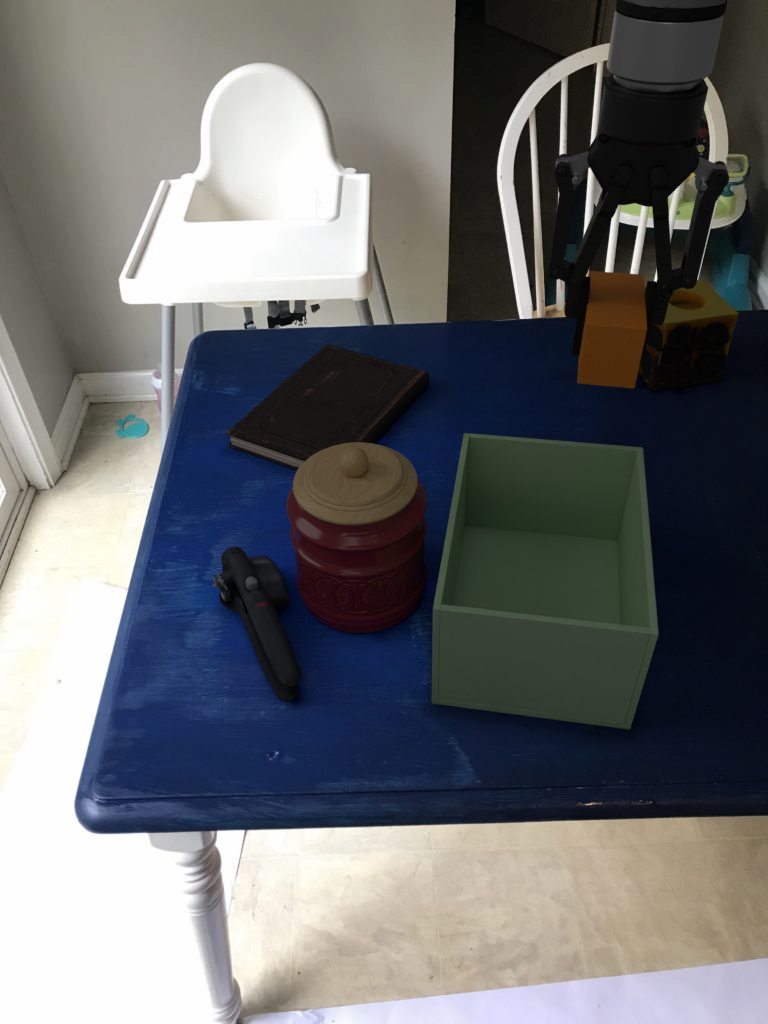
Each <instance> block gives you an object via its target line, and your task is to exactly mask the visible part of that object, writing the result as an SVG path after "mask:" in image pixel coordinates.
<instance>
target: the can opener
mask: <svg viewBox="0 0 768 1024" xmlns="http://www.w3.org/2000/svg"><path fill="white" fill-rule="evenodd" d="M220 558H221V561H220V563H221V571H222V573H220V572H218V573H217V576H215V575H213V576H212V578H213V582H214V584H213V585H212V587H213V588H214V587H215V588H217V589H218V591H219V593H218V598H219V602H220V604H221V606H223V607H224V608H226V609H228V610H230V611H233V612H235V613H237V614H238V616H239V617H240V619H241V621H242V623H243V625H244V628H245V630H246V633H247V635H248V637H249V640H250V643H251V646H252V648H253V651H254V653H255V656H256V658H257V660H258V662H259V665H260V667H261V669H262V671H263V673H264V676H265V678H266V679H267V681H268V683H269V685H270V687H271V689H272V690H273V692H274V694H275V695H276V697H277V698H278V699H280V700H281V701H283V702H293V701H295V700H296V699H298V697H299V696H300V687H299V684H300V682H301V680H302V670H301V668H300V665H299V663H298V660H297V657H296V654H295V651H294V649H293V646H292V644H291V641H290V638H289V636H288V633H287V631H286V629H285V626H284V624H283V622H282V619H281V618H280V615H279V614H278V612H277V610H279V609H282V608H284V607H286V606H288V605H289V603H290V598H289V597H290V596H289V591H288V586H287V583H286V580H285V578H284V575H283V574H282V572H281V570H280V568H279V567H278V566H277V564H276V563H275V562H274V560H273V559H272V558H270V556H268V555H261V556H260V555H258V556H248V555H247V553H246V551H245V550H244V549H242V548H241V547H239V546H230V547H228V548H227V549H225V550H224V551H223V552H222V553H221V557H220Z"/></svg>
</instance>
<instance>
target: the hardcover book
mask: <svg viewBox="0 0 768 1024" xmlns="http://www.w3.org/2000/svg"><path fill="white" fill-rule="evenodd" d="M429 383H430V376H429V373H428V372H427V371H425V370H423V369H420V368H416V367H412V366H409V365H405V364H403V363H402V364H401V363H398V362H395V361H390V360H387V359H384V358H380V357H376V356H372V355H369V354H365V353H362V352H358V351H355V350H352V349H347V348H344V347H340V346H336V345H333V344H329V343H326V344H325V345H324V346H323V347H322V348H321V349H319V350H318V351H317V352H316V353H314V355H313V356H311V357H310V358H309V359H308V360H307V361H306V362H304V364H303V365H301V366H300V367H299V368H298V369H297V370H296V371H295V372H293V373H292V374H291V375H290V376H289V377H288V378H286V380H284V381H283V382H282V383H281V384H279V386H277V387H276V388H275V389H274V390H272V392H271V393H269V394H268V395H266V397H264V398H263V400H261V401H260V402H259V403H258V404H257V405H256V406H254V407H253V408H252V409H250V411H249V412H247V413H246V414H245V415H244V416H243V417H242V418H241V419H240V420H239V421H237V422H236V423H235V424H234V425H233V426H232V427H231V428H229V429H228V430H227V431H225V435H227V436H230V439H229V440H230V442H229V444H228V447H229V448H231V449H234V450H237V451H240V452H243V453H246V454H249V455H251V456H254V457H256V458H260V459H263V460H266V461H268V462H271V463H275V464H277V465H280V466H283V467H286V468H288V469H292V470H295V471H297V470H298V469H299V467H300V466H301V465H302V464H303V463H304V462H305V461H306V460H307V459H308V458H309V457H311V456H312V455H314V454H315V453H317V452H319V451H321V450H323V449H326V448H329V447H332V446H335V445H340V444H344V443H352V442H363V443H372V444H375V443H376V442H377V441H378V439H380V437H381V436H382V435H384V433H385V432H386V431H387V430H388V429H389V428H390V426H391V425H392V424H393V423H394V422H395V421H396V420H397V419H398V418H399V416H400V415H401V414H402V413H404V411H405V410H406V409H407V408H408V407H409V405H411V404H412V402H413V401H414V400H415V399H416V398H417V397H418V396H419V395H420V394H421V393H422V391H424V389H425V388H426V387H427V386H428V385H429Z"/></svg>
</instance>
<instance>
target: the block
mask: <svg viewBox="0 0 768 1024" xmlns="http://www.w3.org/2000/svg"><path fill="white" fill-rule="evenodd" d="M587 275H588V277H591V280H590V294H589V301H588V304H587V311H586V317H585V323H584V330H583V336H582V342H581V349H580V355H579V356H578V361H577V362H578V364H577V379H576V382H577V384H580V385H590V386H602V387H611V388H612V387H613V388H625V389H635V388H636V383H637V380H638V379H637V378H638V370H639V365H640V360H641V356H642V351H643V347H644V342H645V337H646V333H647V317H646V306H645V287H646V284H645V282H646V281H645V274H641V273H627V272H625V273H624V272H613V271H612V272H611V271H597V270H596V271H595V270H588V274H587Z"/></svg>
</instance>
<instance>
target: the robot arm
mask: <svg viewBox="0 0 768 1024" xmlns="http://www.w3.org/2000/svg"><path fill="white" fill-rule="evenodd" d="M727 5H728V0H616V2H615V9H614V14H613V21H612V26H611V27H612V28H611V33H610V40H609V47H608V54H607V61H606V68H607V70H608V72H609V73H610V75H609V76H608V77H607V78H606V79H605V81H604V83H603V89H602V96H601V102H600V108H599V109H600V110H599V116H598V122H597V130H596V135H595V137H594V139H593V140H592V142H591V143H590V145H589V147H588V149H587V151H585V152H582V153H578V154H574V155H571V156H570V155H569V154H567V153H561V154H559V155H558V156H557V157H556V159H555V165H554V178H555V181H556V186H557V191H558V200H557V208H556V215H555V221H554V222H555V223H554V230H553V238H552V245H551V253H550V260H549V268H548V276H549V278H550V279H551V280H555V281H558V280H559V281H562V282H563V283H565V285H566V287H567V288H566V295H565V302H564V316H565V319H573V320H575V321H574V327H573V334H572V339H571V340H572V341H571V342H572V343H571V356H578V357H579V355H580V349H581V342H582V336H583V330H584V323H585V317H586V311H587V304H588V301H589V294H590V280H591V277H588V276H587V275H588V274H589V271H590V268H591V266H592V263H593V261H594V259H595V257H596V255H597V253H598V250H599V247H600V245H601V243H602V242H603V239H604V236H605V234H606V232H607V230H608V227H609V226H610V223H611V220H612V219H613V218H614V216H615V214H616V212H617V210H618V207H619V206H628V205H633V204H637V205H640V206H641V207H648V208H651V210H652V220H653V221H652V222H653V223H652V224H653V238H654V239H653V240H654V253H655V266H656V267H655V268H656V280H647V281H646V284H645V287H646V290H645V306H646V317H647V333H646V337H645V342H644V347H643V351H642V356H641V360H640V361H643V359H644V355H645V350H646V345H647V341H648V336H649V332H650V327H651V325H662V323H663V322H664V321H665V317H666V312H667V308H668V304H669V299H670V297H671V296H672V295H673V291H675V290H677V289H680V288H685V289H691V288H693V287H694V286H695V285H696V283H697V280H699V274H700V270H701V266H702V262H703V257H704V252H705V249H706V245H707V241H708V237H709V232H710V228H711V223H712V219H713V215H714V211H715V206H716V203H717V201H718V200H719V198H720V196H721V195H722V194H723V192H724V190H725V189H726V187H727V185H728V184H729V181H730V175H729V171H728V167H727V164H726V162H724V161H722V160H716V161H714V162H712V161H711V160H708V159H705V158H703V157H700V153H699V149H698V146H697V145H698V144H697V143H698V136H699V132H700V129H701V123H702V118H703V114H704V109H705V105H706V101H707V96H708V92H709V85H708V84H707V81H706V80H705V79H707V77H709V76H710V75H711V74H712V72H713V70H714V65H715V61H716V56H717V52H718V46H719V41H720V36H721V32H722V27H723V23H724V17H725V13H726V11H727ZM587 169H590V170H591V173H592V174H593V175H594V178H595V179H596V181H597V183H598V184H599V186H600V188H601V192H600V194H599V197H598V201H597V204H596V205H595V208H594V211H593V214H592V215H591V217H590V220H589V223H588V224H587V227H586V230H585V232H584V234H583V237H582V239H581V242H580V244H579V246H578V248H577V251H576V253H575V255H574V257H573V260H572V262H571V261H569V260H566V256H567V248H568V242H569V234H570V229H571V221H572V214H573V207H574V200H575V188H576V186H578V185H580V184H581V183H582V182H583V179H584V173H585V171H586V170H587ZM692 174H694V175H695V178H694V186H695V189H696V190H697V192H696V195H695V199H694V204H693V209H692V213H691V216H690V217H691V218H690V222H689V226H688V231H687V235H686V240H685V245H684V250H683V254H682V258H681V262H680V267H676V268H673V263H672V262H673V261H672V247H671V246H672V245H671V230H670V227H671V226H670V209H669V197H670V196H671V195H672V194H673V193H674V192H675V191H676V190H677V189H678V188H679V187H680V186H681V185H682V184H683V183H684V182H685V181H686V180H687V179H688V178H689V177H690V176H691V175H692Z"/></svg>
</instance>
